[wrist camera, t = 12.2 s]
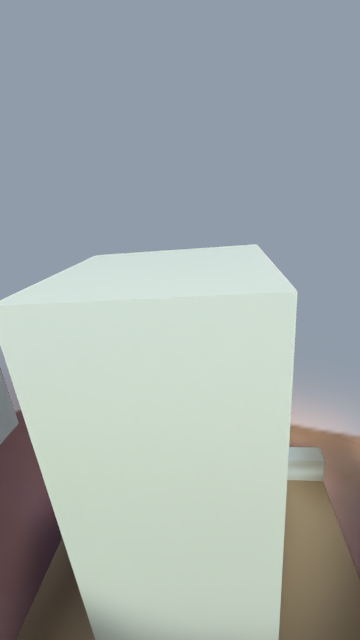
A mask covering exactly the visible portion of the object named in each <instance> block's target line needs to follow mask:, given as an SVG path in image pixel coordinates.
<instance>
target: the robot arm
mask: <svg viewBox="0 0 360 640" xmlns="http://www.w3.org/2000/svg"><path fill="white" fill-rule="evenodd" d="M17 425H18V420H17V417H16V414H15V411H14V408H13V405H12V402H11V399H10V396H9V393H8V390H7V387H6V384H5V381H4V378H3V375H2V372H1V369H0V444H1V443H2V442H3V441H4V440H5V438H6V437H7V436H8V435H9V434H10V433H11V432H12V430H13V429H14V428H15V427H16V426H17Z"/></svg>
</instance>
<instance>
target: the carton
mask: <svg viewBox="0 0 360 640" xmlns="http://www.w3.org/2000/svg"><path fill="white" fill-rule="evenodd" d="M296 309H297V290H296V289H295V288H294V287H293V286H292V285H291V283H290V282H289V281H288V280H287V279H286V278H285V276H284V275H283V274H282V273H281V272H280V271H279V270H278V268H277V267H276V266H275V265H274V264H273V263H272V261H271V260H270V259H269V258H268V257H267V256H266V255H265V253H264V252H263V251H262V250H261V249H260V248H259V246H258V245H256V244H255V245H241V246H226V247H211V248H198V249H182V250H168V251H153V252H139V253H124V254H109V255H96V256H94V257H91V258H89V259H87V260H85V261H83V262H81V263H79V264H76V265H74V266H72V267H70V268H68V269H66V270H64V271H62V272H60V273H57V274H55V275H53V276H51V277H49V278H47V279H45V280H43V281H41V282H38V283H36V284H34V285H32V286H30V287H28V288H26V289H23V290H21V291H19V292H17V293H15V294H13V295H11V296H9V297H6V298H4V299H2V300H1V301H0V345H1V348H2V352H3V355H4V358H5V361H6V364H7V367H8V370H9V373H10V377H11V380H12V382H13V386H14V389H15V392H16V395H17V398H18V401H19V404H20V408H21V411H22V414H23V417H24V420H25V423H26V426H27V429H28V432H29V435H30V439H31V442H32V445H33V448H34V451H35V454H36V457H37V460H38V463H39V466H40V470H41V473H42V476H43V479H44V482H45V485H46V488H47V491H48V494H49V498H50V501H51V504H52V507H53V510H54V513H55V516H56V519H57V522H58V525H59V529H60V532H61V535H62V538H63V541H64V544H65V547H66V550H67V553H68V556H69V560H70V563H71V566H72V569H73V572H74V575H75V578H76V581H77V584H78V587H79V591H80V594H81V597H82V600H83V603H84V606H85V609H86V612H87V615H88V618H89V622H90V625H91V628H92V631H93V634H94V637H95V640H279V623H280V604H281V586H282V567H283V549H284V531H285V512H286V494H287V475H288V457H289V438H290V420H291V400H292V383H293V364H294V363H293V361H294V346H295V327H296Z"/></svg>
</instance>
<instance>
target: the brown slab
mask: <svg viewBox="0 0 360 640" xmlns="http://www.w3.org/2000/svg"><path fill="white" fill-rule="evenodd" d="M324 466H325V460H324V457H323V455H322V452H321V450H320V448H314V447H289V457H288V475H287V494H286V512H285V531H284V549H283V567H282V586H281V604H280V623H279V640H360V579H359V576H358V573H357V571H356V568H355V565H354V563H353V560H352V557H351V555H350V552H349V549H348V547H347V544H346V541H345V539H344V536H343V533H342V531H341V528H340V525H339V523H338V520H337V517H336V515H335V512H334V509H333V507H332V504H331V501H330V499H329V496H328V493H327V491H326V488H325V485H324V483H323V475H324ZM16 640H95V637H94V634H93V631H92V628H91V625H90V622H89V618H88V615H87V612H86V609H85V606H84V603H83V600H82V597H81V594H80V591H79V587H78V584H77V581H76V578H75V575H74V572H73V569H72V566H71V563H70V560H69V556H68V553H67V550H66V547H65V544H64V541H63V538H62V539H61V541H60V544H59V546H58V548H57V550H56V552H55V555H54V557H53V559H52V561H51V563H50V566H49V568H48V570H47V572H46V574H45V577H44V579H43V581H42V583H41V585H40V588H39V590H38V592H37V594H36V596H35V598H34V601H33V603H32V605H31V607H30V609H29V612H28V614H27V616H26V618H25V620H24V623H23V625H22V627H21V629H20V631H19V634H18V636H17V638H16Z"/></svg>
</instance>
